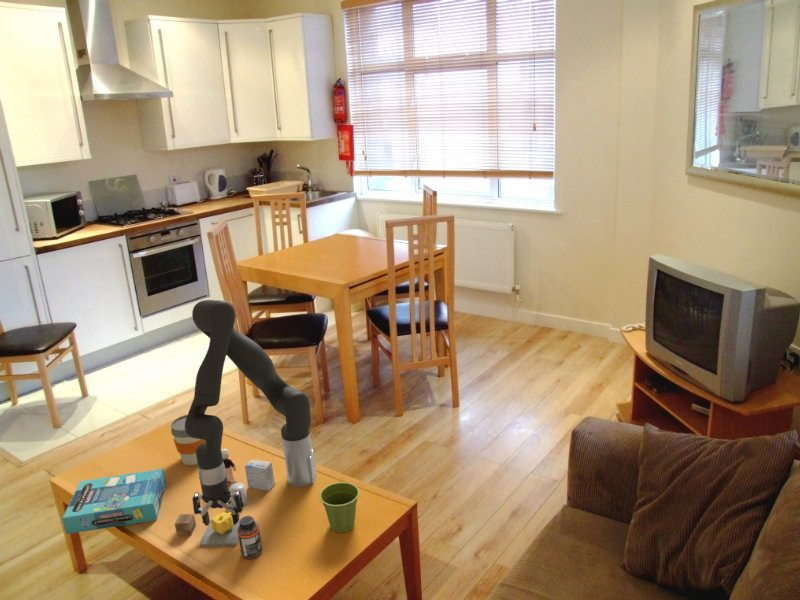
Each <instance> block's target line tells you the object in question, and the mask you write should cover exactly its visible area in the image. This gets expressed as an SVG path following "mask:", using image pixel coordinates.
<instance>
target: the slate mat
mask: <svg viewBox="0 0 800 600" xmlns="http://www.w3.org/2000/svg"><path fill="white" fill-rule="evenodd" d="M240 519H241V518H239V520H238V523H237V524H236V525H234V527H232V529H231V530H228V531H227V532H225V534H224V535H221V534H219V533H217V532H215V531H214V530H213V529H212V528H211V527H210V526H211V525H212V519H211V520H210V523H209V525H208V526H206V530H205V531H204V533H203V536H202V538H201V540H200V541H199V544H198V545H199V546H198V547H224V546H225V547H227V546H237V545H238V543H239V538H238V532H237V530H238V527H239V525H240V523H239V521H240Z"/></svg>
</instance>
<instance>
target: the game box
mask: <svg viewBox="0 0 800 600" xmlns="http://www.w3.org/2000/svg"><path fill="white" fill-rule="evenodd" d="M166 486H167V480H166V474H165V469H164V468H157V469H153V470H145V471H139V472H133V473H131V472H130V473H126V474H119V475H114V476H113V475H112V476H105V477H99V478H94V479H93V478H92V479H87V480H86V479H85V480H80V481H79V483H78V485H77V487H76V490H75V491H74V492H73V493H74V494H73V496H72V498H71V500H70V502H69V504H68V506H67V508H66V510H65V512H64V514H63V516H62V518H61V521H62V524H63V527H64V531H65V534H66V535H72V534H77V533H84V532H89V531H96V530H102V529H107V528H109V529H110V528H114V527H121V526H126V525H133V524H139V523H141V524H142V523H146V522H153V521H157V520H158V516H159V513H160V510H161V509H160V508H161V505H162V500H163V496H164V493H165V489H166Z"/></svg>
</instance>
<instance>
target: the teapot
mask: <svg viewBox="0 0 800 600" xmlns="http://www.w3.org/2000/svg"><path fill="white" fill-rule="evenodd" d="M211 520H212V525H211V526H210V527H211V528H212V529H213V530H214V531H215V532H217V533H219V534H221V535H224V534H225V532H227V531H228V530H231V529H232V527H234V524H233V519H232V513H231V512H230V511H228V512H225V511H222V512H221V513H218V515H215V516H214V517H213V518H212V519H211Z"/></svg>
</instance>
